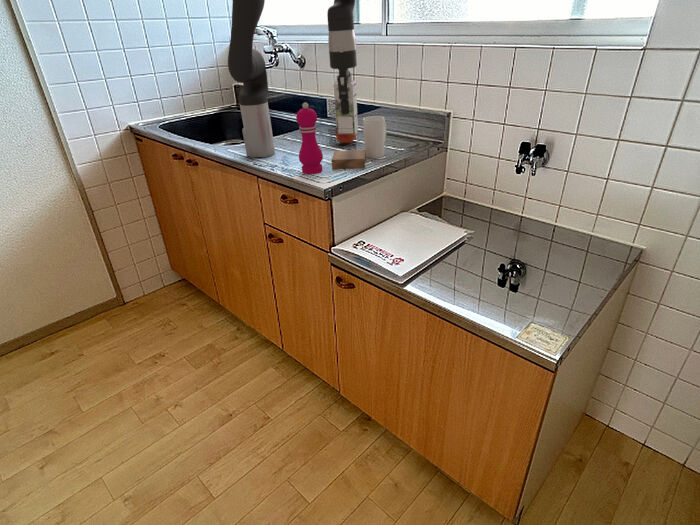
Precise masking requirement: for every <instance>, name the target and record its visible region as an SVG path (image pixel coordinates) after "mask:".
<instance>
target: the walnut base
mask: <svg viewBox="0 0 700 525" xmlns="http://www.w3.org/2000/svg"><path fill="white" fill-rule="evenodd" d="M366 161H367V157H366V150H365V149H352V150H351V149H347V150H334V151H333V155H332V158H331V169H332V170H333V171H334V170H357V169H358V170H359V169H361V170H362V169H365V168H366Z"/></svg>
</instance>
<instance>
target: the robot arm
mask: <svg viewBox="0 0 700 525" xmlns="http://www.w3.org/2000/svg"><path fill="white" fill-rule="evenodd" d="M355 4H356V0H333V5H331V6H330V7H328V9H327V29H328V31H327V32H328V37H327V38H328V40H327V41H328V53H329V56H328V57H329V66H330V68H331V70H332V69H334V70H338V74H337V76H336V81H337V82H338V92H339V100H340V101H341V113H342V114H343V115H345V114H349V94H348V92H349V91H350V87H348V88H347V83H350V82H351V81H352V78H353V77H352V73H351V72H350V71H349V69H354V68H356V67H357V66H358V63H357V45H356V44H357V42H356V40H357V39H356V34H355V23H354V22H355V20H354V9H355ZM264 6H265V0H232V7H231V8H232V11H231V28H230V29H231V32H230V39H229V47H228V56H227V67H228V71H229V72H228V73H229V74H230V77H231V78H232V79H233V80H234V81H235V82H237V83H241V84H242V83H243V85H242V89H241V92H240V93H239V95H238V103H239V108H240V114H241V119H242V125H243V128H242V136H243V142H244V148H245V153H246V157H247V156H252V157H262V158H268V157H271V156H273V155H275V154H276V149H275V143H274V137H273V129H272V122H271V121H272V120H271V115H270V108H269V103H268V96H269V84H268V74H267V73H268V72H267V71H268V70H267V67H266V66H267V65H266V61H265V58H264V56H263V55H262V54H261V52H260V51H258V50H257V49H255V48H254V46H253V43H254V36H255V32H256V28H257V26H258V24H259V21H260V19H261V17H262V13H263V10H264ZM342 85H344V86H342ZM342 92H346V95H342ZM252 157H251V158H252Z"/></svg>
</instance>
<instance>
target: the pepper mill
mask: <svg viewBox="0 0 700 525" xmlns="http://www.w3.org/2000/svg"><path fill="white" fill-rule="evenodd" d="M301 105H302V108H301V109H299V110H298V111H297V113H296V122H297V124H298V125H299V127H298V128H299V133H300V134H301V140H302V141H301V146H300V149H299V153H298V160H299V162H300V164H302V165H301V173H302V174H303V175H304V174H305V175H309V174H310V175H316V174H317V175H318V174H321V173H322V172H323V164H322V163H321V162H322V161H323V159H324V155H323V152H322V149H321V148H320V146H319V144H318V142H317V138H316V132H317V130H318V129H317V125H316V123H317V122H318V114H317V112H316V111H315V110H314V109H313V108H310V107H309V103H308V102H303V103H302V104H301Z"/></svg>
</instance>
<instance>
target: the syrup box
mask: <svg viewBox="0 0 700 525" xmlns="http://www.w3.org/2000/svg"><path fill="white" fill-rule="evenodd" d="M342 86H344V85H342ZM348 87H350V91H349V92H348V94H349V114H345V115H343V114H342V113H341V101H340V100H339V92H338V82H337V80H336V81H335V82H333V98H334V110H335V123H336V127H337V134H356V135H357V133H358V130H359V122H358V104H357V103H358V102H357V100H358V99H357V81H356V80H355V79H354V80H351V82H350V83H347V88H348ZM342 95H346V92H342Z"/></svg>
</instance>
